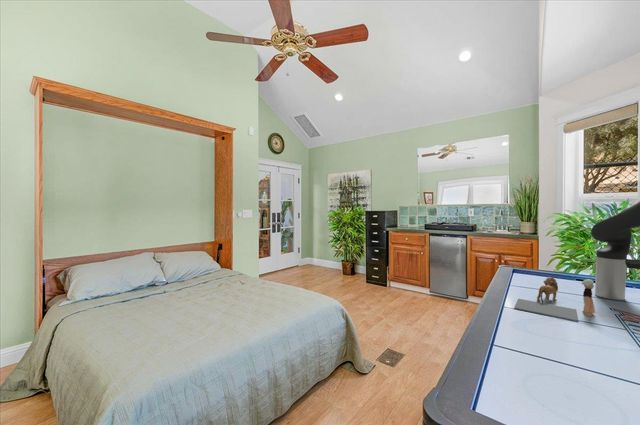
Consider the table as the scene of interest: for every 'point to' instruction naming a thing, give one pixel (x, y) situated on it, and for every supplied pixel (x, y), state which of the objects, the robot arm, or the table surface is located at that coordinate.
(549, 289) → the lion figurine
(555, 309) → the mat
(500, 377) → the table surface
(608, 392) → the table surface
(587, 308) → the grandmother figurine
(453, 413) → the table surface
